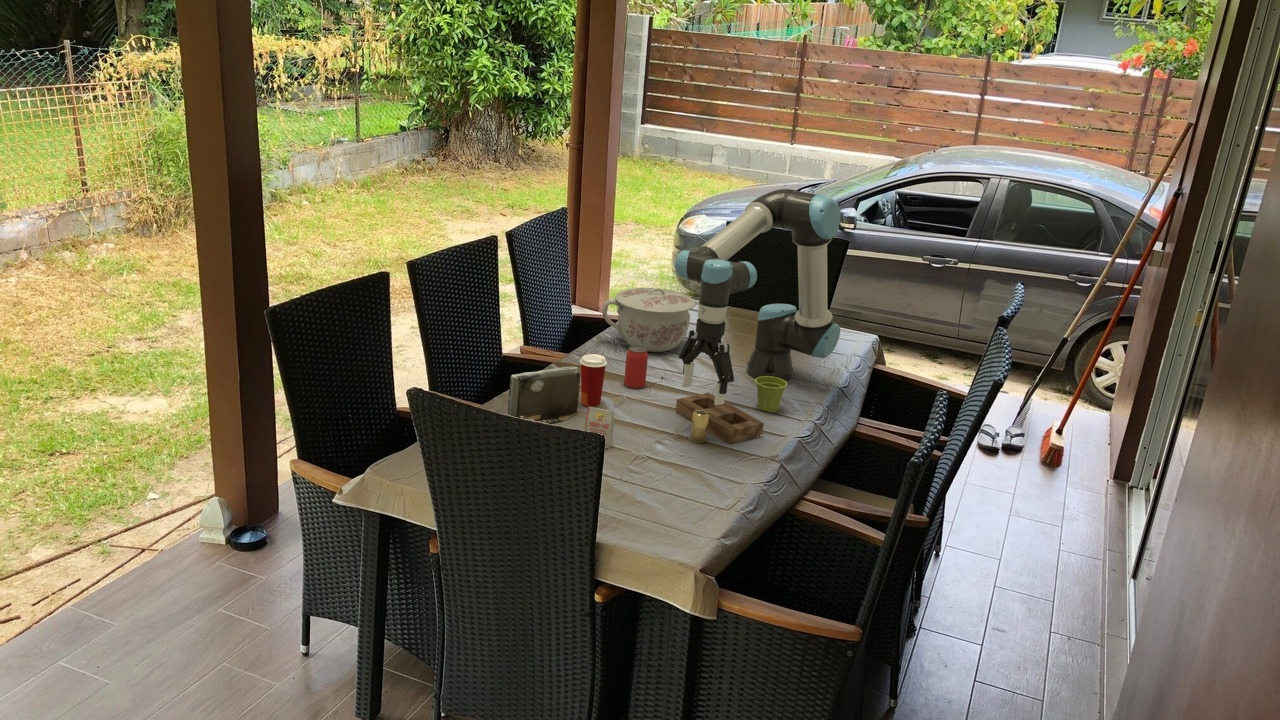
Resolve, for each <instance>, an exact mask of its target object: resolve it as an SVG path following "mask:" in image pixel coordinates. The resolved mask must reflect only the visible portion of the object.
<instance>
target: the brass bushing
mask: <svg viewBox="0 0 1280 720" xmlns="http://www.w3.org/2000/svg"><path fill="white" fill-rule="evenodd" d="M708 422H709V412H707V411H705V410H695V411H693V418H692V422H691V429H690V438H689V440H690V441H691V442H692V443H694V442H695V443H694V444H704V443H707V437H708V431H707V430H708Z"/></svg>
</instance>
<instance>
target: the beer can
mask: <svg viewBox="0 0 1280 720" xmlns="http://www.w3.org/2000/svg"><path fill="white" fill-rule="evenodd" d="M648 358H649V354H648V352H647V349H646V348H645V347H642V346H629V347H628V350H627V352H626V358H625V366H624V367H625V369H624V380H623V381H624V382H623V384H624V386H626V387H627V388H629V389H633V390H635V389H636V390H637V389H643V388H644V387H646V380H647V371H648V370H647V369H648Z"/></svg>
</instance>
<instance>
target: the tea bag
mask: <svg viewBox="0 0 1280 720" xmlns="http://www.w3.org/2000/svg"><path fill="white" fill-rule="evenodd" d="M614 428H615V420H614V411H613V410H608V409H603V408H599V407H588V406H587V414H586V418H585V423H584V432H585V431H591V432H594V433H600V434H603V435H605V436H606V448H605V449H606V450H609V449H610V448H611V446H612V445H613V443H614V442H613V441H614V430H615V429H614ZM607 447H608V449H607Z"/></svg>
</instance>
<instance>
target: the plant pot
mask: <svg viewBox="0 0 1280 720" xmlns="http://www.w3.org/2000/svg"><path fill="white" fill-rule="evenodd" d="M754 379H755V380H754V381H755V385H756V389H757V390H756V391H757V393H756V394H757V395H756V396H757V409H758V408H759V410H760V411H761V410H762V412H767V413H775V412H774V411H776V412H778V411H779V408H780V404H781V402H782V397H783V394H784V391H785V390H786V387H787V386H788V381H785V380H783V379H780V378H777V377H772V376H762V377H758V378H754Z"/></svg>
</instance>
